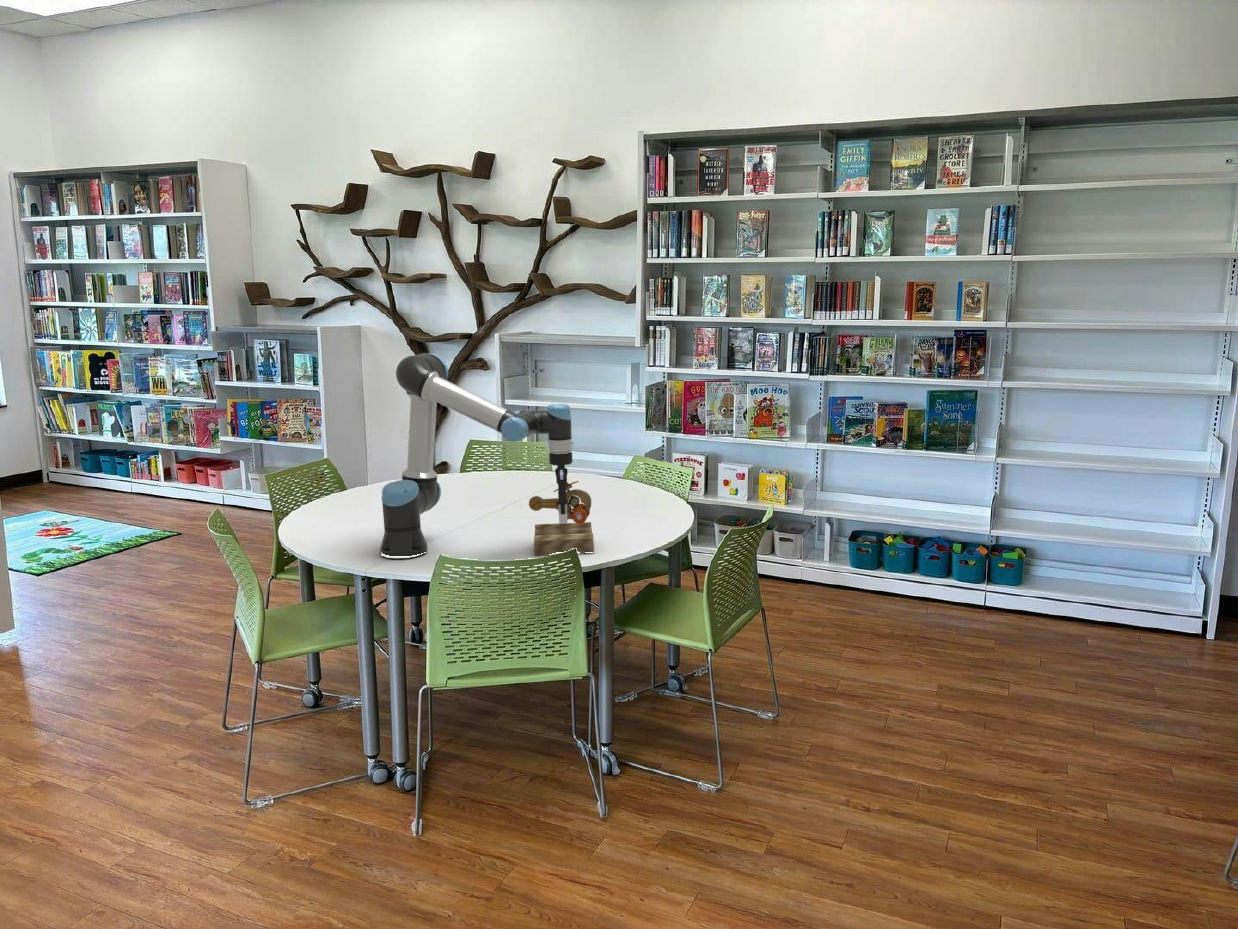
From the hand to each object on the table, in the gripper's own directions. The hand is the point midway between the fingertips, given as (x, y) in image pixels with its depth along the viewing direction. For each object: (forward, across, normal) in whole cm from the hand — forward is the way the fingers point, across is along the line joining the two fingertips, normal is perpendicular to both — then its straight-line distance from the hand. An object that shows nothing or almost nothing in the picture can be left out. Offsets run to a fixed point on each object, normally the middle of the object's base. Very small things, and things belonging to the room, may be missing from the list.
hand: (563, 520), depth 309 cm
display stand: (+9, 0, 0) cm, 9 cm away
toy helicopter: (0, 0, 0) cm, 1 cm away
